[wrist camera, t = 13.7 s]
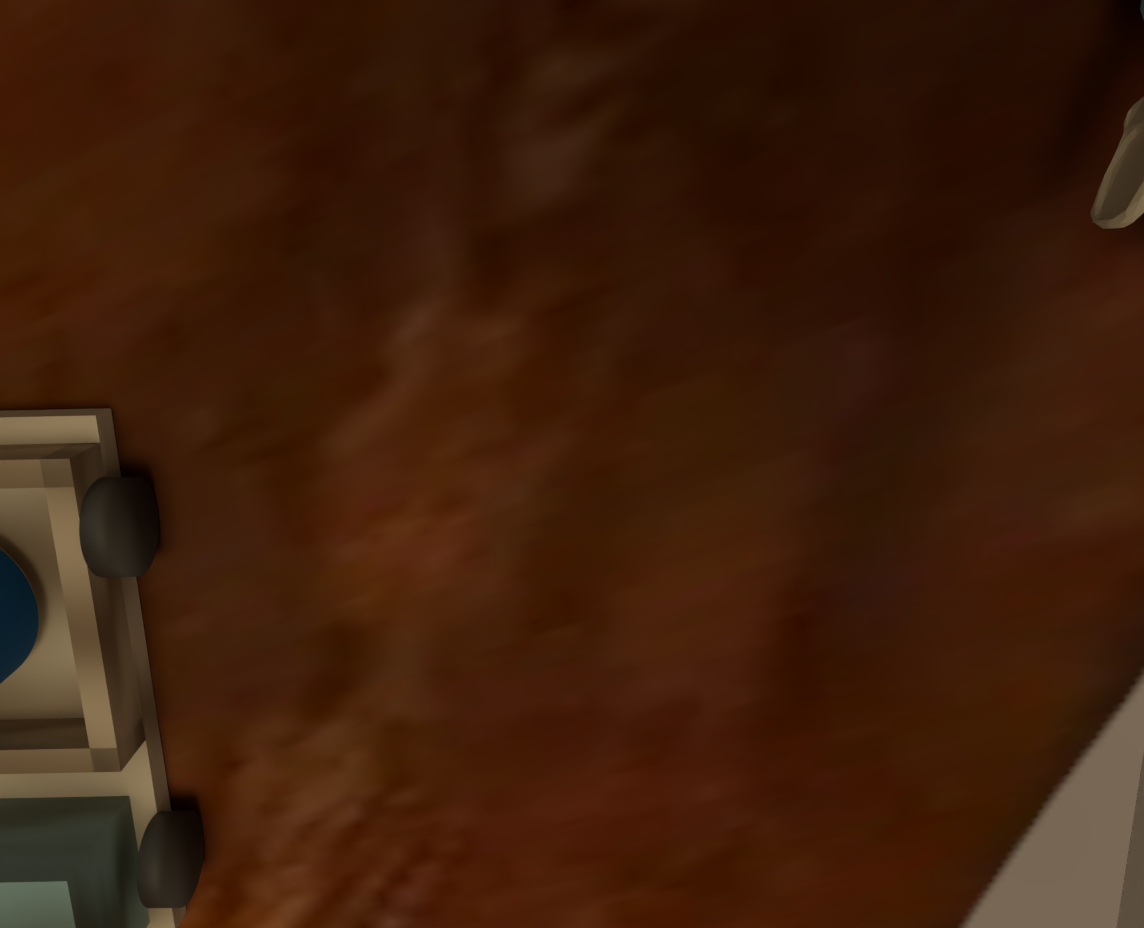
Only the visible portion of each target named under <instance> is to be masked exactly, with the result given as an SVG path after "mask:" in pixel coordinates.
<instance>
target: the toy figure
mask: <svg viewBox="0 0 1144 928" xmlns="http://www.w3.org/2000/svg"><path fill="white" fill-rule="evenodd" d="M1140 11H1141V14H1142V17H1143V20H1144V0H1141V6H1140ZM1143 213H1144V97H1142V98H1141V99H1140V100H1139V101H1138V102H1136V103H1135V104H1134V105H1133V106H1132V108H1131V109H1130V111H1129V112H1128V113H1127V116H1126V118H1125V121H1124V133H1123V136H1122V139H1121V141H1120V143H1119V146H1118V148H1117V150H1116V153H1115V155H1114V157H1113V160H1112V162H1111V164H1110V166H1109V167H1108V169H1107V171H1106V173H1105V176H1104V178H1103V180H1102V182H1101V184H1100V187H1099V190H1098V193H1097V195H1096V198H1095V201H1094V204H1093V207H1092V210H1091V213H1090V214H1091V217H1092V221H1093V222H1094V223H1095V224H1097V225H1098V226H1100V227H1101V228H1103V229H1104V228H1124V227H1126V226H1128V225H1129V224H1131V223H1133V222H1134V221H1135V220H1136V219H1137V218H1139V217H1140V216H1141V215H1142V214H1143Z"/></svg>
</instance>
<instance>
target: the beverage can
mask: <svg viewBox="0 0 1144 928" xmlns="http://www.w3.org/2000/svg"><path fill="white" fill-rule="evenodd" d="M38 628H39V611H38V604H37V600H36V596H35V594H34V591H33V589H32V586H31V584H30V582H29V580H28V579H27V577H26V575H25V573H24V572H23V571H22V569H21V568H20V567H19V565H18V564H17V563H16V562H15V561H14V560H13V559H12V558H11V556H9V555H8V554H7V553H6V552H5V551H4V550H3V549H1V548H0V684H1V683H2V682H3V681H4V680H5V679H6V678H8V677H9V676H10V675H11V674H12V673H13V672H15V671H16V670H17V669H18V668H19V667H20V666H21V665H22V664H23V663H24V661H25V660H26V659H27V657H28V656H29V654H30V652H31V650H32V649H33V647H34V644H35V641H36V638H37V634H38Z"/></svg>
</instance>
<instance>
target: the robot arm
mask: <svg viewBox="0 0 1144 928" xmlns="http://www.w3.org/2000/svg"><path fill="white" fill-rule="evenodd" d="M1117 928H1144V755H1143V761H1142V768H1141V774H1140V780H1139V787H1138V793H1137V800H1136V806H1135V813H1134V820H1133V826H1132V832H1131V839H1130V845H1129V852H1128V858H1127V864H1126V871H1125V877H1124V884H1123V890H1122V896H1121V904H1120V909H1119V916H1118V922H1117Z"/></svg>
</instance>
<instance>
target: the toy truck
mask: <svg viewBox="0 0 1144 928" xmlns="http://www.w3.org/2000/svg"><path fill="white" fill-rule="evenodd" d="M158 537H159V515H158V508H157V503H156V499H155V496H154V493H153V491H152V489H151V487H150V485H149V484H148V483H147V482H146V481H145V480H144V479H143V478H141V477H121V472H120V465H119V459H118V452H117V445H116V439H115V432H114V425H113V419H112V412H111V408H103V409H54V410H5V411H0V548H1V549H3V550H4V551H5V552H6V553H7V554H8V555H9V556H11V558H12V559H13V560H14V561H15V562H16V563H17V564H18V565H19V567H20V568H21V569H22V571H23V572H24V573H25V575H26V577H27V579H28V580H29V582H30V584H31V586H32V589H33V591H34V594H35V596H36V600H37V604H38V611H39V628H38V634H37V638H36V641H35V644H34V647H33V649H32V650H31V652H30V654H29V656H28V657H27V659H26V660H25V661H24V663H23V664H22V665H21V666H20V667H19V668H18V669H17V670H16V671H15V672H13V673H12V674H11V675H10V676H9V677H8V678H6V679H5V680H4V681H3V682H2V683H1V684H0V928H178V926H179V924H180V922H181V920H182V918H183V916H184V915H185V913H186V904H187V903H188V902H189V901H190V899H191V898H192V896H193V894H194V892H195V889H196V887H197V884H198V881H199V877H200V873H201V868H202V862H203V853H204V834H203V827H202V823H201V819H200V817H199V815H198V814H197V813H196V812H195V811H171V805H170V798H169V792H168V785H167V778H166V772H165V765H164V758H163V752H162V745H161V739H160V732H159V725H158V719H157V712H156V705H155V699H154V692H153V685H152V679H151V672H150V665H149V659H148V652H147V645H146V639H145V632H144V625H143V619H142V612H141V605H140V599H139V592H138V585H137V579H136V577H139V576H141V575H143V574H144V573H145V572H146V571H147V570H148V569H149V567H150V565H151V564H152V561H153V559H154V556H155V553H156V549H157V544H158Z"/></svg>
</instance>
